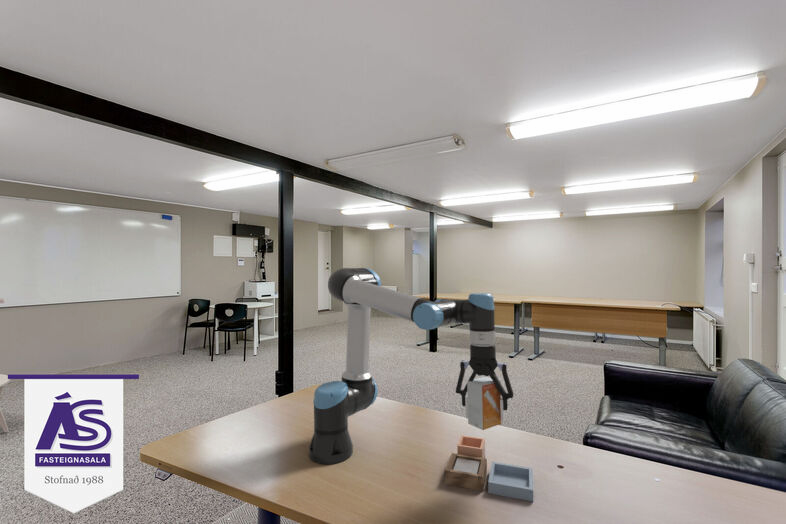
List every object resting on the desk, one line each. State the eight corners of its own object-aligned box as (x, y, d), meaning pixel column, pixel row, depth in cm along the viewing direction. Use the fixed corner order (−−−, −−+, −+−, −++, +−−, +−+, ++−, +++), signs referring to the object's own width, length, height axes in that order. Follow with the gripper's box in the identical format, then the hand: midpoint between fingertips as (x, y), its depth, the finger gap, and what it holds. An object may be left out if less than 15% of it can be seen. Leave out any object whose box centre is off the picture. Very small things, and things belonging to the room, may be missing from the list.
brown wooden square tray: (445, 483, 110) (445, 470, 110) (452, 465, 120) (452, 453, 121) (483, 491, 106) (483, 476, 106) (486, 471, 117) (486, 458, 117)
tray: (488, 493, 105) (488, 482, 105) (491, 471, 117) (491, 461, 117) (533, 501, 101) (533, 490, 101) (532, 478, 113) (532, 468, 113)
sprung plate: (452, 474, 111) (452, 470, 111) (457, 461, 118) (457, 457, 118) (476, 479, 109) (476, 474, 109) (479, 465, 116) (479, 461, 116)
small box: (483, 431, 107) (481, 385, 107) (467, 423, 112) (466, 380, 113) (502, 424, 111) (500, 380, 112) (486, 417, 117) (485, 376, 117)
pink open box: (457, 464, 121) (457, 445, 121) (461, 452, 129) (461, 435, 129) (482, 468, 119) (482, 449, 119) (485, 456, 126) (484, 438, 126)
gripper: (443, 344, 113) (445, 419, 112) (520, 348, 105) (523, 428, 104) (448, 340, 120) (450, 410, 119) (521, 343, 112) (524, 418, 111)
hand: (484, 418), depth 112 cm, fingers closed on small box, 10 cm apart
